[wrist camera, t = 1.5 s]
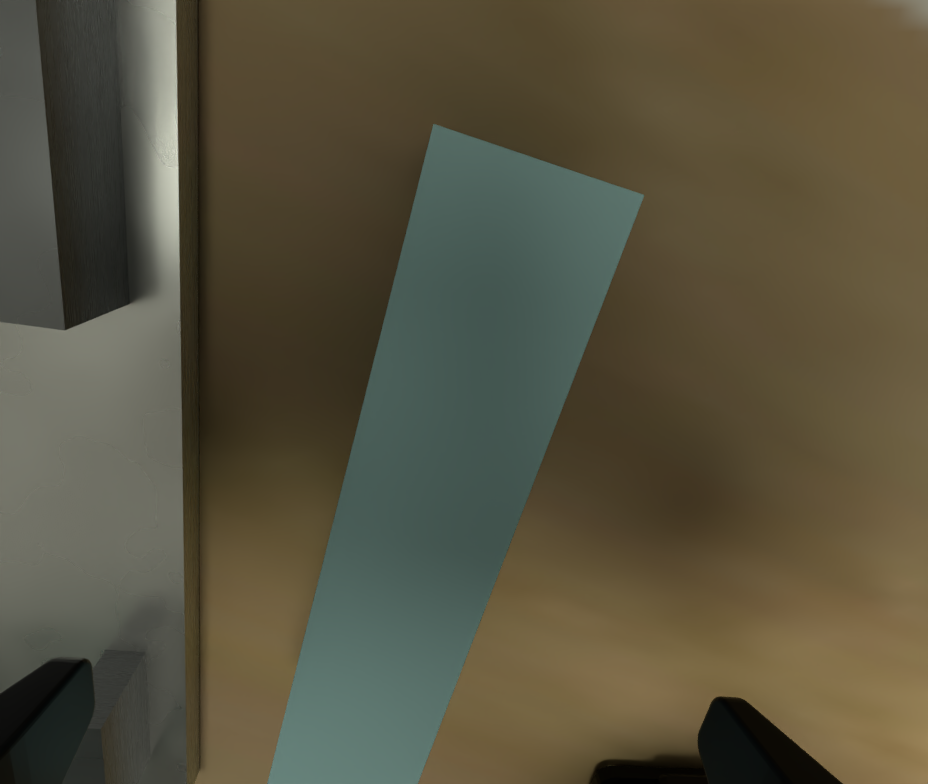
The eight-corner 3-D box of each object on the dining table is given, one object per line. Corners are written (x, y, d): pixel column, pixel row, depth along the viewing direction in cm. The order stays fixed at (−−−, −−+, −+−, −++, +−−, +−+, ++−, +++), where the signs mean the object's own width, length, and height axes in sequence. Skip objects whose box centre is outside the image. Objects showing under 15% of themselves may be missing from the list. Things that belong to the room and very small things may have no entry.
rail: (410, 673, 17) (408, 808, 13) (299, 656, 17) (264, 792, 13) (576, 192, 12) (643, 195, 9) (429, 143, 12) (433, 124, 8)
